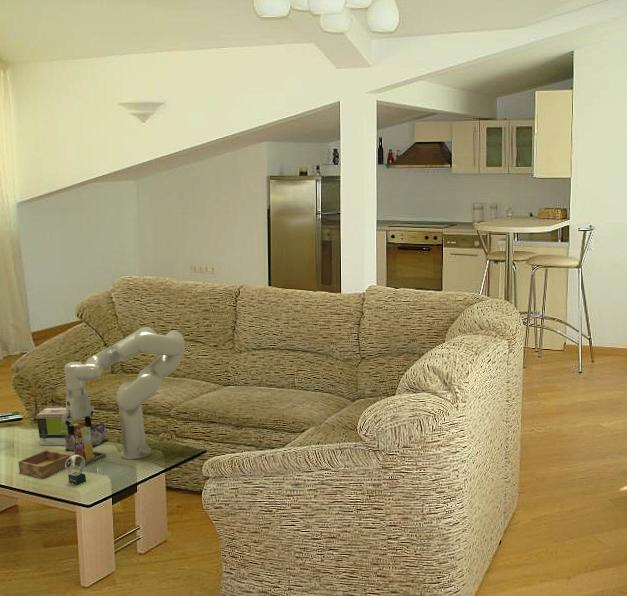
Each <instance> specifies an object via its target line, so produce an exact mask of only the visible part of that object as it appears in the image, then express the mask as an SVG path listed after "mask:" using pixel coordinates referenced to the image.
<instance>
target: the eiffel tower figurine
mask: <svg viewBox="0 0 627 596" xmlns="http://www.w3.org/2000/svg"><path fill="white" fill-rule="evenodd" d="M34 404H35V405H34V407H35V409H34V415H33V416H32V417H27V418H23V419H21V420H22V421H25V420H29V419H31V423H34V422H37V414H38V413H40V412H41V411H40V410H39V407H38V402H37V397H36V396H34Z"/></svg>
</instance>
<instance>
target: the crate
mask: <svg viewBox="0 0 627 596" xmlns="http://www.w3.org/2000/svg"><path fill="white" fill-rule="evenodd" d="M70 456H71V454H67V453H62V452H57V451H53V450H48V449H45V450H43V451H40V452H37V453H35V454H33V455H31V456H28V457H26V458H23V459H21V460H19V461H18V470H19V474H21V473H22V475H26V476H30V477H34V476H35V477H36V478H38V477H39V478H40V479H43V480H44V479H47V478H49V477H52V476H53V475H56V474H57V472H58V473H60V472H62V471H64V470H66V469H65V462H66V460H67V459H68V458H70ZM63 469H64V470H63ZM61 470H62V471H61ZM59 471H60V472H59ZM55 473H56V474H55ZM46 477H47V478H46Z"/></svg>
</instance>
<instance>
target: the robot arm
mask: <svg viewBox="0 0 627 596" xmlns="http://www.w3.org/2000/svg"><path fill="white" fill-rule="evenodd" d="M185 351H186V343H185V338H184V336H183V334H182V333H181V332H179V331H178V330H171V331H169V332H167V333H166V334H159V333H156V332H155V329H153V328H151V327H148V326H144V327H141V328H140V329H137V330H136V331H134V332H132V333H131V334H130V335H128V336H126V337H124V338H123V339H121V340H119V341H118V342H115V343H113V344H112V345H110V346H108V347H106V348H104V349H102V350H101V351H99V352H98V353H95V354H94V355H92V356H91V357H89V358H88V359H87V360H86V361H85V363H82V362H80V361H71V362H68V363H65V365H64V374H65V375H64V376H65V386H66V392H65V396H66V398H65V408H66V413H65V414H64V415H63V416H62V420H63V422H64V423H65V424H66V425H67V428H68V434H71V435H74V426H73V422H74V420H75V421H76V420H78V421H79V420H82V419H84V425H86V426H89V427H90V428H91V427H92V418H93V414H94V410H95V405H91V403H90V397H89V394H88V392H86V381H96V380H99V379H100V378H101V376H102V373H103V371H104V370H106V369H108V368H110V367H111V366H112V365H114V364H117V363H119V362H126V361H129V360H131V359H132V358H134V357H135V356H137V355H139V354H140V353H142V352H145V353H148V354H154V355H158V357H157V358H155V359H154V360H153V361H152V362H150V363H149V364H148V365H146V366H144V367H143V368H142V369H141V370H140V371H139V373H138V375H137V378H136V379H135V380H133V381H126V382H123V383H122V384H121V385H120V386H119V388H118V389H117V392H116V399H115V402H116V405H117V407H118V408H119V409H118V410H119V420H120V429H121V439H122V449H123V450H121V452H120V454H119V455H120V458H121V459H124V460H138V459H143V458H146V457H147V456H149V455H150V454H151V452H152V451H153V448H152V447H149V446H148V443H147V442H146V435H145V434H146V433H145V424H144V413H143V403H145V402H146V401H148V400H149V399H150V398H151V397H153V395H155V393H157V391H158V390H159V389H160V386H161V383H162V381H163V380H164V379H165V378H167V377H169V375H170V374H171V373H172V372H174V371H175V370H176V369H177V367H179V365H180V364H181V362H182V361H183V358H184V355H185ZM70 420H71V422H70Z"/></svg>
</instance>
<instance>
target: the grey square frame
mask: <svg viewBox="0 0 627 596" xmlns="http://www.w3.org/2000/svg"><path fill="white" fill-rule="evenodd" d="M93 454H94V455H95V456H94V459H91V460H89V461H87V462H85V466H86V467H88V466H90V465H92V464H94V463H93V462H95V463H97V462H99V461H101V460H103V459H105V458H107V455H106V454H107V453H103V452H99V451H94V450H93ZM73 455H75V453H74V454H72V455H71V454H70V457H71V456H73ZM104 457H105V458H104ZM100 459H101V460H100ZM98 460H99V461H98ZM96 461H97V462H96ZM91 463H92V464H91ZM80 464H81V461H76V460H75V465H77V466H76V467H80ZM89 464H90V465H89ZM87 465H88V466H87Z"/></svg>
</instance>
